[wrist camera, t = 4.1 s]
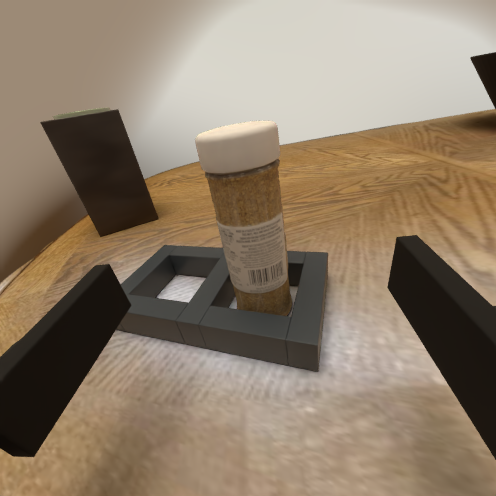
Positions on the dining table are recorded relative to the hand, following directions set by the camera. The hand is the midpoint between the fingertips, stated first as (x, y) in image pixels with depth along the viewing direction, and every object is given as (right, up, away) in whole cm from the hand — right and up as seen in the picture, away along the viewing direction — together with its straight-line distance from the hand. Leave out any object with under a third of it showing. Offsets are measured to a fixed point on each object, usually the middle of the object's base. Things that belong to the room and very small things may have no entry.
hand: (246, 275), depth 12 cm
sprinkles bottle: (+1, -4, +9) cm, 10 cm away
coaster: (-23, +20, +23) cm, 38 cm away
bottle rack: (-2, -3, +10) cm, 11 cm away
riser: (-21, +6, +31) cm, 38 cm away
